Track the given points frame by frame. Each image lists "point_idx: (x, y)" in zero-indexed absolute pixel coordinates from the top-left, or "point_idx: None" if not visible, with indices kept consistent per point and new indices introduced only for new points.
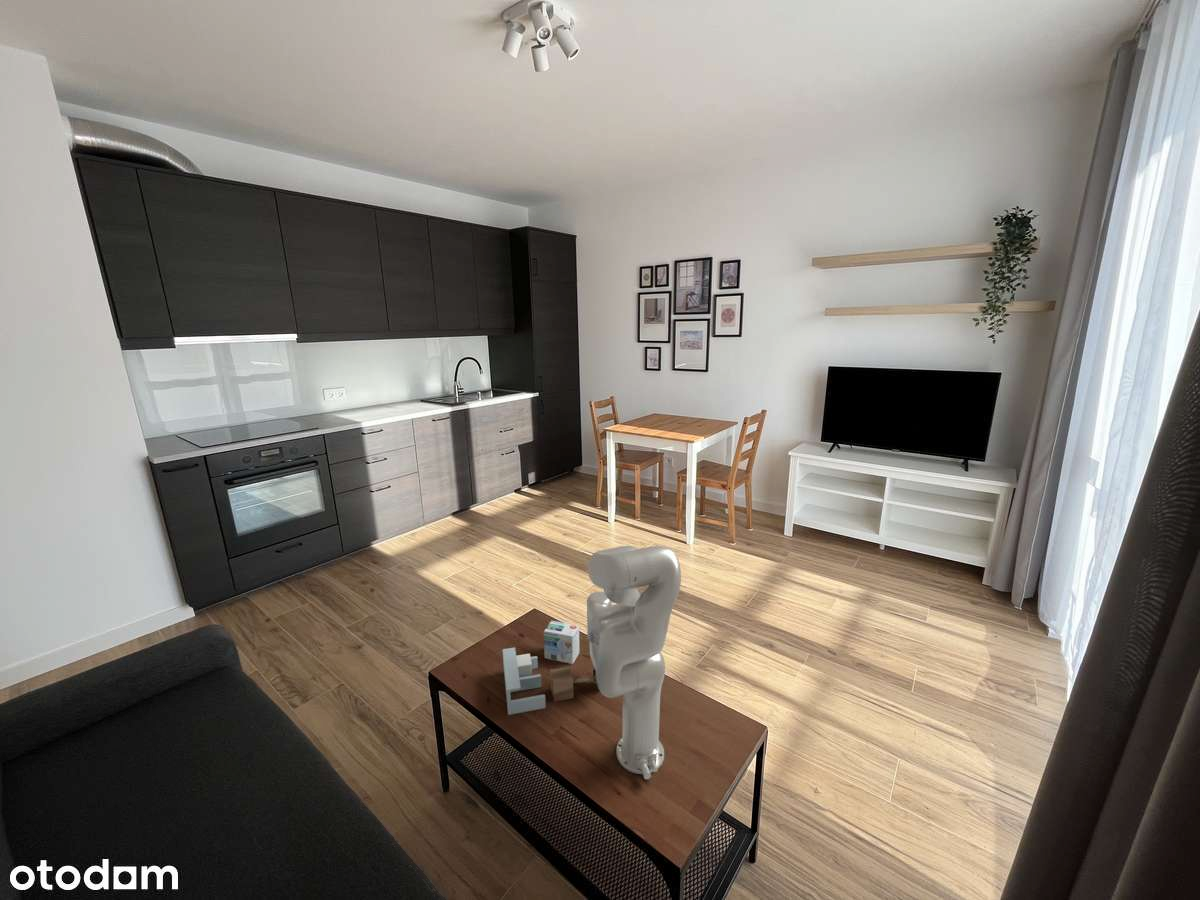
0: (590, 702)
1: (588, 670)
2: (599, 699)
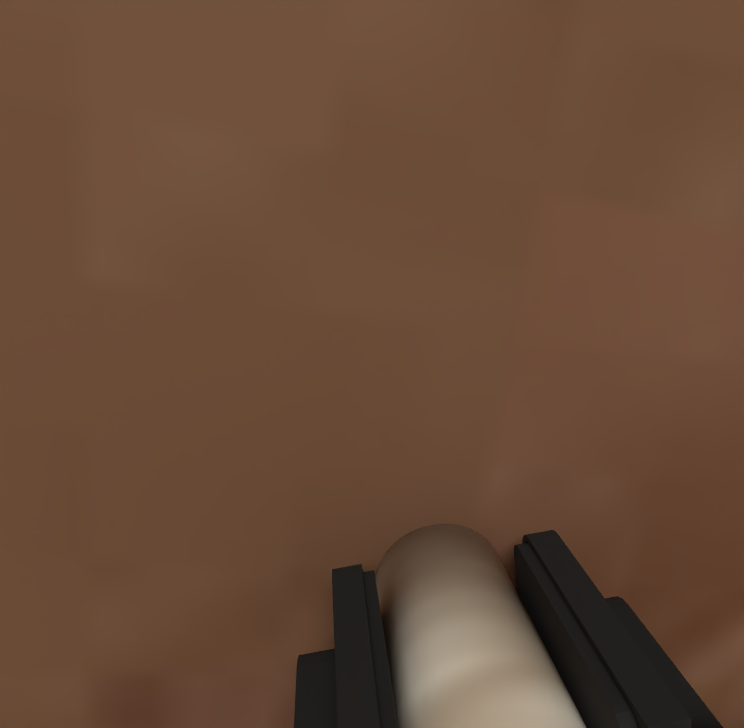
0: (709, 696)
1: (58, 719)
2: (692, 593)
